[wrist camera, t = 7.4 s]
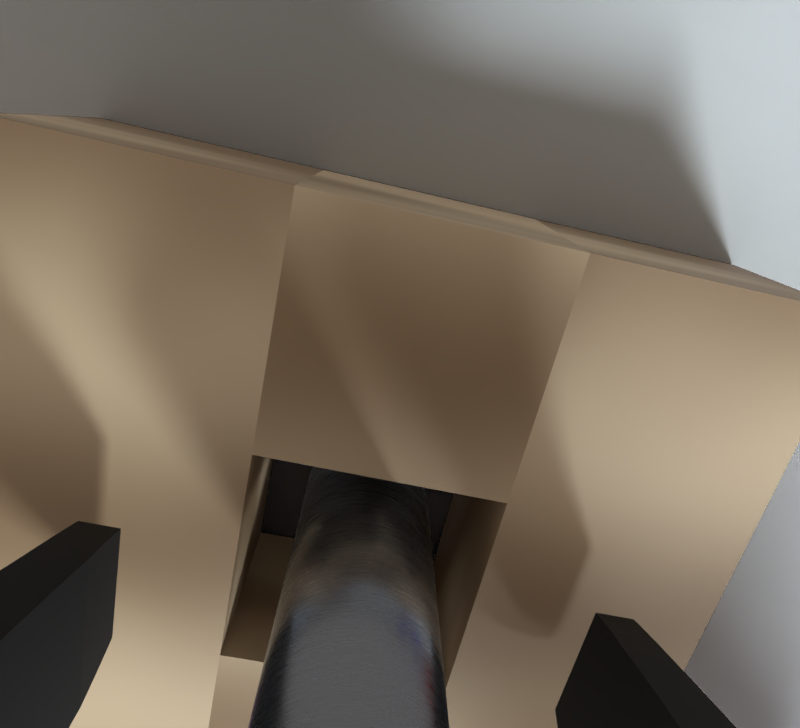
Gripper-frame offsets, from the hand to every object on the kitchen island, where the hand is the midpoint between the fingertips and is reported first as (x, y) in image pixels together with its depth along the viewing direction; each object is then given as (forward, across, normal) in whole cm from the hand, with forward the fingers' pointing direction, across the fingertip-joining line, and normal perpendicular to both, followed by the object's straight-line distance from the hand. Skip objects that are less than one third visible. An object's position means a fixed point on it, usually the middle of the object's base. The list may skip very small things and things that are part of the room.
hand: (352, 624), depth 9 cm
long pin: (+4, 0, 0) cm, 4 cm away
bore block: (+4, 0, 0) cm, 4 cm away
